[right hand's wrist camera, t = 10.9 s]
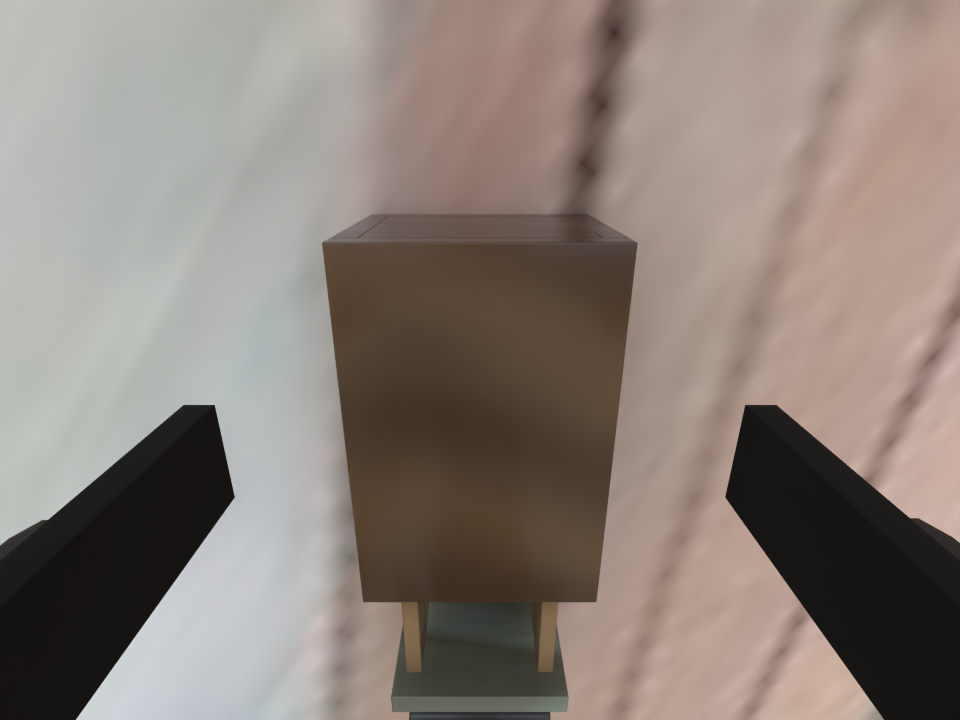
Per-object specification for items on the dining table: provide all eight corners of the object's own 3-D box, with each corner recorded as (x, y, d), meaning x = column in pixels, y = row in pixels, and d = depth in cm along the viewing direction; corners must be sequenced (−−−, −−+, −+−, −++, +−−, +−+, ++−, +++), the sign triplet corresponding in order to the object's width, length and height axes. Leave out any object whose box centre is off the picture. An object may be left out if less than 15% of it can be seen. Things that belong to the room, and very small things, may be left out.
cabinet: (567, 489, 31) (596, 602, 23) (392, 489, 31) (362, 602, 23) (588, 214, 25) (638, 242, 17) (371, 214, 25) (321, 242, 17)
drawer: (547, 672, 35) (561, 776, 29) (412, 672, 35) (398, 776, 29) (566, 410, 28) (589, 480, 22) (393, 410, 28) (370, 480, 22)
